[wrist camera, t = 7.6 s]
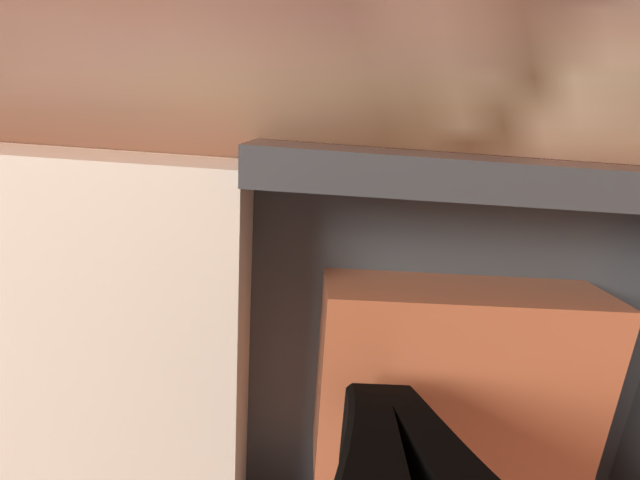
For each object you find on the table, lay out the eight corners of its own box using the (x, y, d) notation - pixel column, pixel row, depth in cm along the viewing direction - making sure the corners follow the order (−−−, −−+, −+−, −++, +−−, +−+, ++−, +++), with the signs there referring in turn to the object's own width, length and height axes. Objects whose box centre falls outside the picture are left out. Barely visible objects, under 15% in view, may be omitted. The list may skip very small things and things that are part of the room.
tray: (614, 508, 14) (689, 602, 11) (246, 497, 13) (231, 595, 10) (724, 171, 11) (865, 187, 8) (256, 138, 10) (238, 144, 7)
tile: (546, 436, 12) (590, 494, 11) (312, 429, 12) (313, 488, 10) (585, 280, 11) (644, 313, 9) (323, 267, 11) (327, 298, 9)
